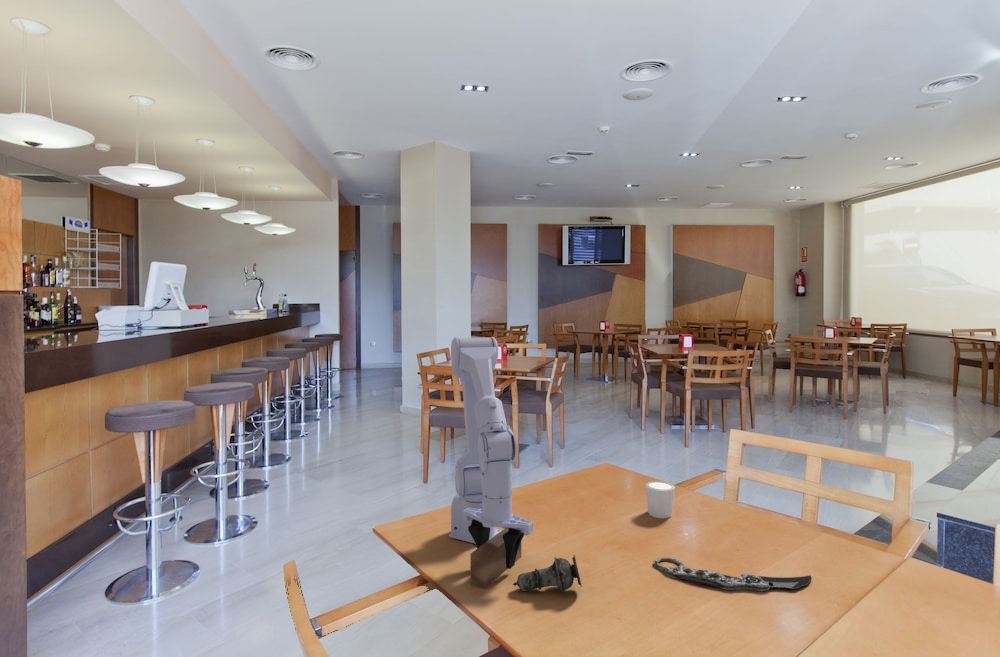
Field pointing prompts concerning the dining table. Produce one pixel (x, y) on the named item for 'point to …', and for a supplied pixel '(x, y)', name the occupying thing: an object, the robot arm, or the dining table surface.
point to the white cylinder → (660, 499)
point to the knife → (730, 578)
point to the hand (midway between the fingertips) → (497, 562)
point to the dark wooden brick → (489, 561)
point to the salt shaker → (550, 576)
